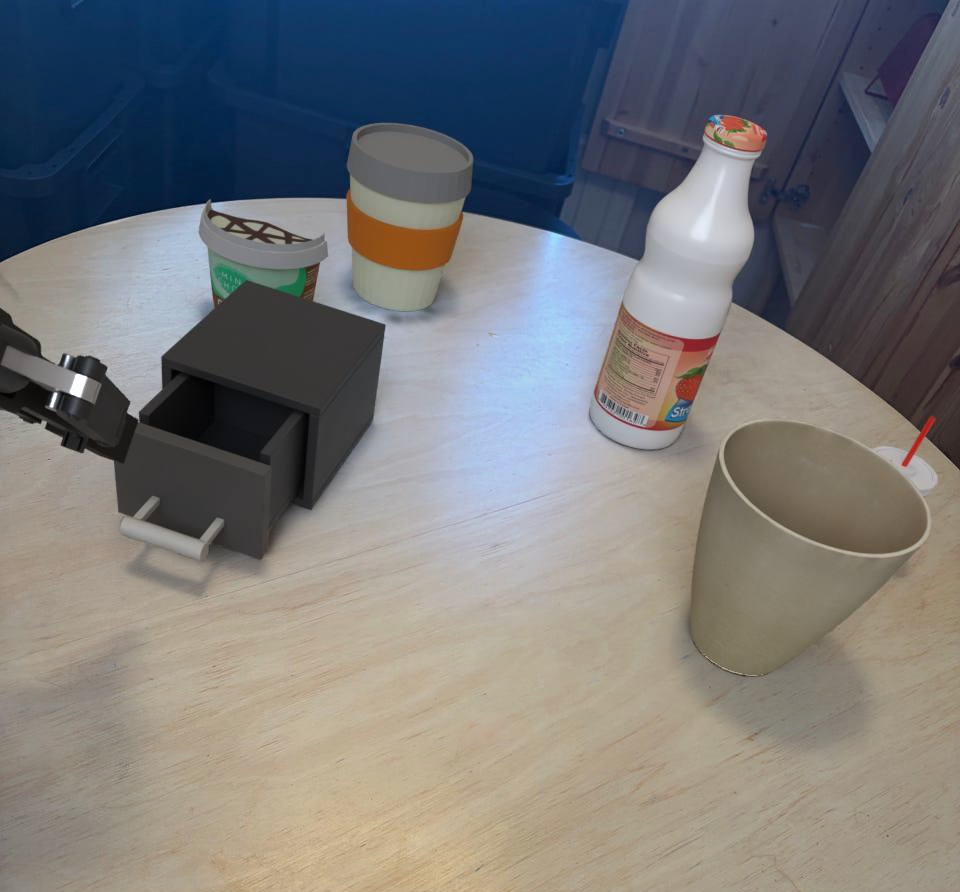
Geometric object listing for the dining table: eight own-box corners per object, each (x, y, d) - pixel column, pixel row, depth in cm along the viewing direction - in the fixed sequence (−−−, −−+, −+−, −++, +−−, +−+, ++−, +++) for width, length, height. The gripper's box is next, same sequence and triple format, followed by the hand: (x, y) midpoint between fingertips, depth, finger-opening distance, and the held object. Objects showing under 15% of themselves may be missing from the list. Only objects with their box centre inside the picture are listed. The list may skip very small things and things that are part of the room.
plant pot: (693, 726, 70) (784, 560, 59) (617, 583, 80) (684, 417, 68) (863, 707, 75) (977, 550, 64) (773, 574, 84) (859, 418, 73)
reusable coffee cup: (318, 265, 108) (330, 120, 97) (421, 260, 113) (443, 123, 103) (362, 323, 101) (379, 174, 90) (470, 316, 106) (498, 174, 96)
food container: (177, 324, 94) (174, 221, 87) (205, 297, 98) (204, 197, 91) (299, 361, 94) (306, 260, 86) (321, 333, 98) (330, 234, 91)
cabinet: (311, 510, 79) (320, 408, 72) (165, 462, 79) (160, 356, 73) (373, 420, 89) (386, 324, 82) (243, 378, 90) (246, 279, 83)
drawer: (236, 596, 69) (237, 509, 64) (86, 545, 70) (76, 455, 64) (329, 464, 82) (337, 382, 76) (202, 422, 82) (201, 338, 77)
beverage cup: (893, 546, 91) (975, 418, 81) (878, 579, 87) (963, 448, 77) (832, 516, 92) (905, 387, 83) (814, 548, 88) (889, 416, 79)
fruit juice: (588, 389, 100) (678, 93, 81) (677, 409, 101) (788, 120, 81) (586, 440, 94) (684, 131, 74) (681, 461, 94) (803, 160, 75)
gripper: (-379, 322, 34) (-5, 464, 57) (-33, 438, 33) (202, 534, 57) (-308, 117, 34) (37, 343, 57) (39, 228, 33) (244, 411, 57)
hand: (119, 437), depth 57 cm, fingers closed
